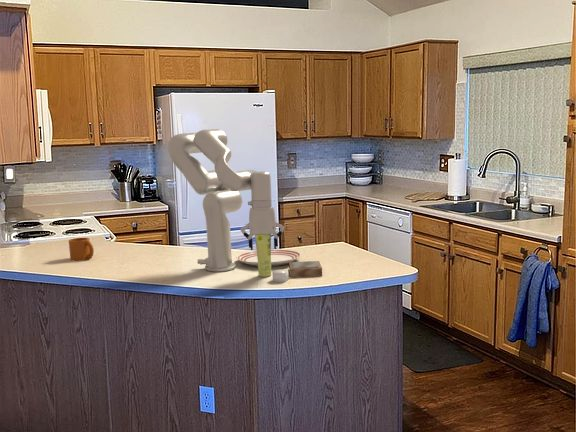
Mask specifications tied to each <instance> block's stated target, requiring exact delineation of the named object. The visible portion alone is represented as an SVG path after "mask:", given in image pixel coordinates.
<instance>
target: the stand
mask: <svg viewBox="0 0 576 432" xmlns="http://www.w3.org/2000/svg"><path fill="white" fill-rule="evenodd" d="M288 264H289V270H288V271H289V275H290V278H299V277H300V278H302V277H303V278H304V277H320V276H321V277H323V267H322V265H321V262H320V260H311V261H310V260H308V261H307V260H306V261H292V262H289V263H288Z"/></svg>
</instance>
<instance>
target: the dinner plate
mask: <svg viewBox="0 0 576 432" xmlns="http://www.w3.org/2000/svg"><path fill="white" fill-rule="evenodd" d="M301 256H302V253H301V252H299V251H297V250H290V249H283V248H282V249H281V248H280V249H279V248H278V249H277V248H276V249H274V248H273V249H272V248H271V268H272V267H279V266H283V265H288V264H289V262H295V261H296V260H298V259H299V258H300V257H301ZM236 260H238V261H239V262H240V263H243V264H246V265H249V266H253V267H257V268H258V259H257V250H250V251H248V252H243V253H241V254H238V255H237V256H236Z"/></svg>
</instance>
